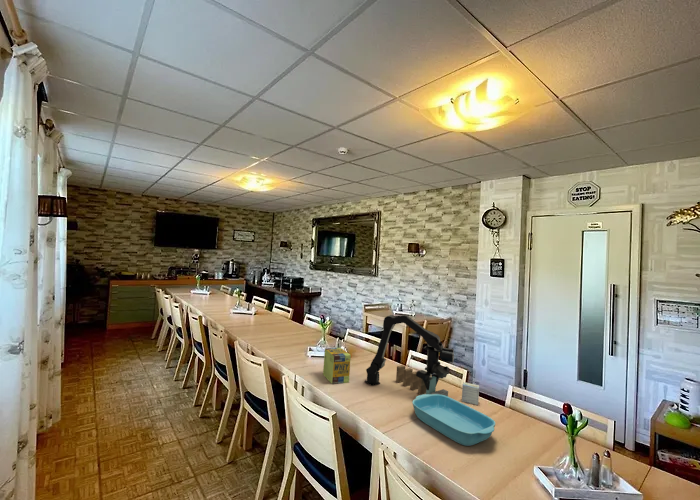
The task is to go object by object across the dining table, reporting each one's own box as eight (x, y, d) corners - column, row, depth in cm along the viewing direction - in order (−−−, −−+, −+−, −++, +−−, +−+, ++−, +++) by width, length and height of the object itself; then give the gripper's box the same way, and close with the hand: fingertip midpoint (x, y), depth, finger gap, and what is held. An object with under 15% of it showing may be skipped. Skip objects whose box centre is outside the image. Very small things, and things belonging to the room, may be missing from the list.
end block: (435, 404, 157) (435, 395, 157) (430, 401, 159) (430, 392, 159) (447, 400, 163) (448, 391, 163) (442, 397, 165) (443, 389, 165)
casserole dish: (402, 413, 146) (403, 397, 146) (435, 403, 158) (436, 389, 158) (472, 458, 115) (473, 438, 115) (506, 442, 127) (507, 424, 127)
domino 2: (411, 385, 179) (412, 369, 179) (405, 386, 176) (406, 370, 176) (409, 383, 181) (409, 368, 181) (402, 385, 178) (403, 369, 178)
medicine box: (478, 402, 163) (479, 385, 163) (478, 405, 159) (479, 388, 159) (462, 398, 166) (463, 381, 166) (461, 401, 162) (462, 384, 162)
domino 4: (426, 392, 170) (427, 375, 171) (420, 394, 167) (421, 377, 168) (424, 391, 172) (425, 374, 172) (417, 392, 169) (418, 376, 169)
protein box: (331, 384, 172) (333, 356, 173) (322, 374, 186) (324, 348, 187) (349, 382, 177) (351, 354, 177) (339, 372, 191) (340, 347, 191)
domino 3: (419, 388, 175) (420, 372, 175) (412, 390, 172) (413, 373, 172) (416, 387, 176) (417, 371, 177) (410, 389, 173) (411, 372, 174)
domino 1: (404, 381, 184) (405, 366, 184) (398, 383, 181) (399, 367, 181) (402, 380, 185) (403, 365, 185) (395, 382, 182) (396, 366, 183)
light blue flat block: (425, 395, 165) (427, 377, 165) (432, 393, 168) (433, 376, 168) (429, 396, 163) (430, 379, 163) (435, 394, 166) (436, 377, 166)
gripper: (433, 366, 154) (431, 398, 153) (456, 361, 165) (454, 391, 164) (416, 359, 163) (414, 390, 162) (439, 355, 174) (437, 383, 173)
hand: (430, 389), depth 165 cm, fingers closed on light blue flat block, 5 cm apart
